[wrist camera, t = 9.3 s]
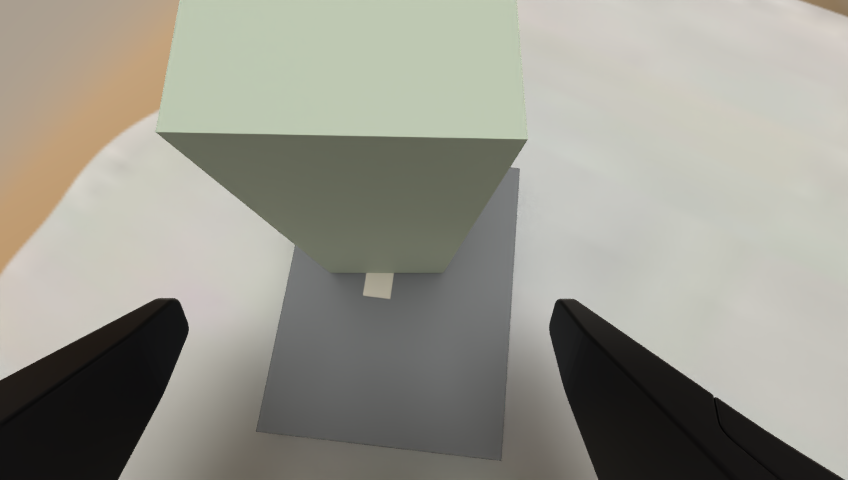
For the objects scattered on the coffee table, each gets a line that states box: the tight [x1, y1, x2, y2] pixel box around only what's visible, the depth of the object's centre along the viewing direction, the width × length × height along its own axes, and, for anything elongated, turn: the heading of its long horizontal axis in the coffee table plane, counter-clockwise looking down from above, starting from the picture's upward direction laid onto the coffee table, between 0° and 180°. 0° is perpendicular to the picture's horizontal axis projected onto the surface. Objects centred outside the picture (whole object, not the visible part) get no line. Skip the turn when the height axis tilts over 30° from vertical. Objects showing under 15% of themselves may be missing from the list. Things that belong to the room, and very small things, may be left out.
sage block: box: [156, 0, 528, 273], centre depth 12 cm, size 5×5×12 cm
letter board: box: [256, 167, 520, 461], centre depth 17 cm, size 13×10×1 cm
